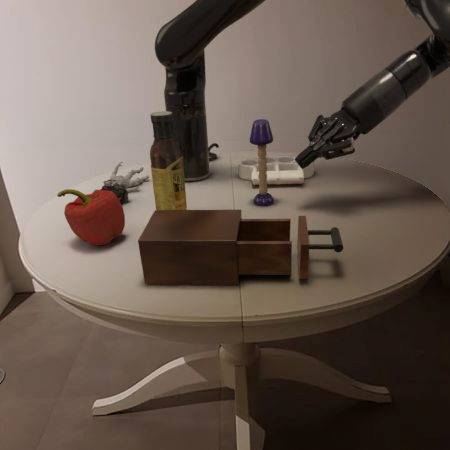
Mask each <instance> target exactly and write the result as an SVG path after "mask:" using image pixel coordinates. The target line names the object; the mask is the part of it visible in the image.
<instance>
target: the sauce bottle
mask: <svg viewBox="0 0 450 450" xmlns="http://www.w3.org/2000/svg"><path fill="white" fill-rule="evenodd" d="M150 121H151V124H152V131H153V132H152V133H153V141H152V142H153V143H152V144H151V146H150V150H149V159H150V170H151V171H150V172H151V181H152V189H153V196H154V197H153V198H154V203H155V210H187V208H188V202H187V191H186V181H185V179H184V168H183V157H182V154H181V151H180V149H179V147H178V145H177V142H176V140H175V138H174V133H173V123H172V122H173V114H172V112H168V111H166V110H165V111H164V110H162V111H156V112H151V113H150Z"/></svg>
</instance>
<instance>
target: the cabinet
mask: <svg viewBox="0 0 450 450" xmlns="http://www.w3.org/2000/svg"><path fill="white" fill-rule="evenodd" d="M242 216H243V211H242V209H186V210H156V209H155V210H154V211H153V213H152V215H151V216H150V218H149V220H148V222H147V224H146V225H145V227H144V229H143V230H142V232H141V234H140V236H139V238H138V240H137V243H138V250H139V257H140V262H141V268H142V274H143V281H144V285H153V286H155V285H157V286H158V285H159V286H160V285H163V286H164V285H168V286H169V285H171V286H239V280H240V274H238V262H237V239H238V233H239V227H240V220H241V219H243V217H242Z"/></svg>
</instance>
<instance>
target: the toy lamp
mask: <svg viewBox="0 0 450 450" xmlns="http://www.w3.org/2000/svg"><path fill="white" fill-rule="evenodd" d="M273 142H274V137H273V132H272V128H271V124H270V121H269V120H268V119H265V118H260V119H255V120H254V121H253V123H252V126H251V131H250V136H249V143H250V144H251V145H253V146H257V158H258V164H259V167H258V171H259V175H258V177H259V184H258V186H259V189H258V192H259V193H256V195H255V196H254V198H253V204H254V205H256V206H261V207H264V206H270V205H272V204H273V203H274V197H273V195H272V194H271V193H269V192H268V184H267V180H266V179H267V173H266V172H267V166H266V163H267V159H266V157H267V155H268V154H267V145H270V144H272V143H273Z"/></svg>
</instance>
